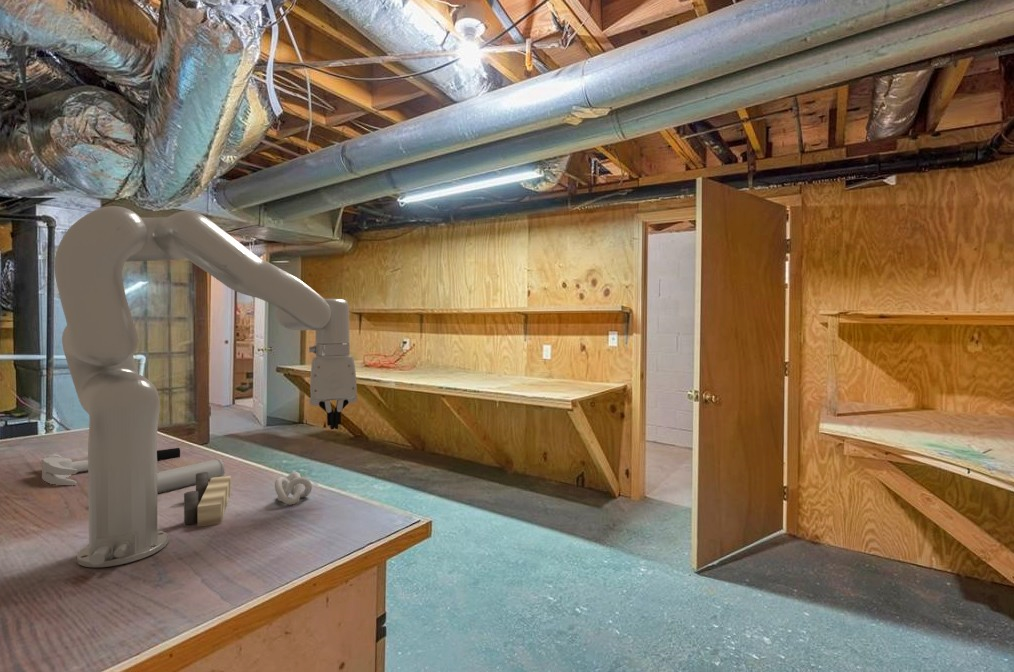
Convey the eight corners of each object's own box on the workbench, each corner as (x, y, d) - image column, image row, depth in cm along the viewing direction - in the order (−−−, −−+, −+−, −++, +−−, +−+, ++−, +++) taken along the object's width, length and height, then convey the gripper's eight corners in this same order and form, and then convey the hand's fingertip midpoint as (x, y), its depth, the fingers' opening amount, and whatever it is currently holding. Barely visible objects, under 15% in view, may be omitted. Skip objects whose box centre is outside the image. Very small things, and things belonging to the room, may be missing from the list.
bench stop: (220, 523, 98) (220, 494, 98) (181, 529, 95) (181, 498, 95) (230, 492, 116) (230, 467, 116) (198, 496, 113) (198, 470, 113)
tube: (107, 492, 105) (226, 463, 126) (98, 480, 108) (216, 454, 129) (105, 513, 106) (223, 481, 127) (96, 501, 109) (213, 472, 130)
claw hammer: (170, 439, 153) (38, 453, 131) (192, 451, 139) (49, 470, 116) (169, 456, 153) (38, 473, 131) (192, 470, 139) (48, 493, 116)
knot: (266, 500, 111) (266, 475, 111) (301, 492, 117) (301, 467, 117) (279, 509, 106) (279, 482, 106) (315, 500, 112) (315, 474, 112)
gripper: (298, 353, 108) (300, 434, 109) (367, 351, 114) (368, 428, 115) (298, 351, 115) (299, 428, 116) (363, 349, 121) (364, 422, 122)
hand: (334, 427), depth 115 cm, fingers closed
